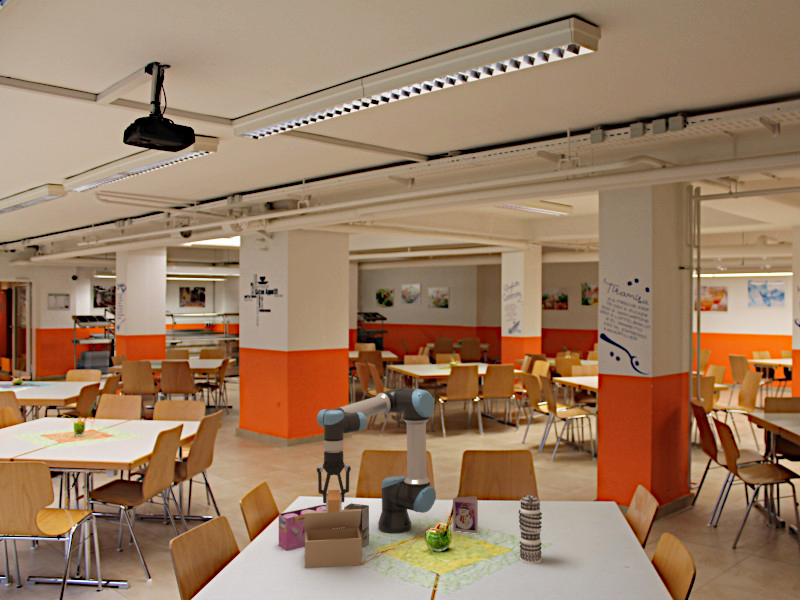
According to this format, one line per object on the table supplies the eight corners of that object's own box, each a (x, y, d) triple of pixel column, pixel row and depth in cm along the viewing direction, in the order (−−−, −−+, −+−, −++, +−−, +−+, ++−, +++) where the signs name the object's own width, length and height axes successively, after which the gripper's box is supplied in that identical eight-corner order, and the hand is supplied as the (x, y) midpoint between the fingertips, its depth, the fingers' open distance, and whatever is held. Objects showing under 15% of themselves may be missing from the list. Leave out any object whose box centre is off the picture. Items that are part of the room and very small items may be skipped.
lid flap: (359, 527, 264) (358, 517, 266) (363, 498, 245) (362, 488, 248) (304, 529, 260) (304, 520, 263) (304, 501, 242) (304, 491, 245)
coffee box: (369, 543, 273) (369, 505, 274) (362, 548, 267) (362, 509, 268) (351, 540, 277) (351, 502, 277) (343, 544, 271) (343, 506, 272)
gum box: (326, 534, 285) (326, 503, 285) (336, 539, 279) (336, 507, 279) (278, 545, 270) (278, 513, 271) (286, 551, 264) (286, 518, 265)
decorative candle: (528, 566, 247) (528, 501, 248) (514, 558, 256) (513, 495, 256) (547, 561, 252) (546, 498, 252) (532, 554, 260) (531, 492, 261)
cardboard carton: (358, 551, 263) (358, 527, 263) (361, 564, 249) (361, 538, 250) (304, 554, 260) (304, 529, 260) (305, 567, 246) (305, 541, 246)
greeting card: (452, 531, 287) (452, 498, 288) (457, 526, 294) (457, 494, 295) (477, 534, 283) (477, 500, 284) (481, 529, 290) (481, 496, 290)
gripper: (355, 447, 253) (355, 507, 253) (310, 449, 251) (310, 509, 250) (356, 451, 246) (357, 512, 245) (311, 453, 243) (311, 515, 242)
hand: (333, 510), depth 247 cm, fingers closed on lid flap, 4 cm apart
